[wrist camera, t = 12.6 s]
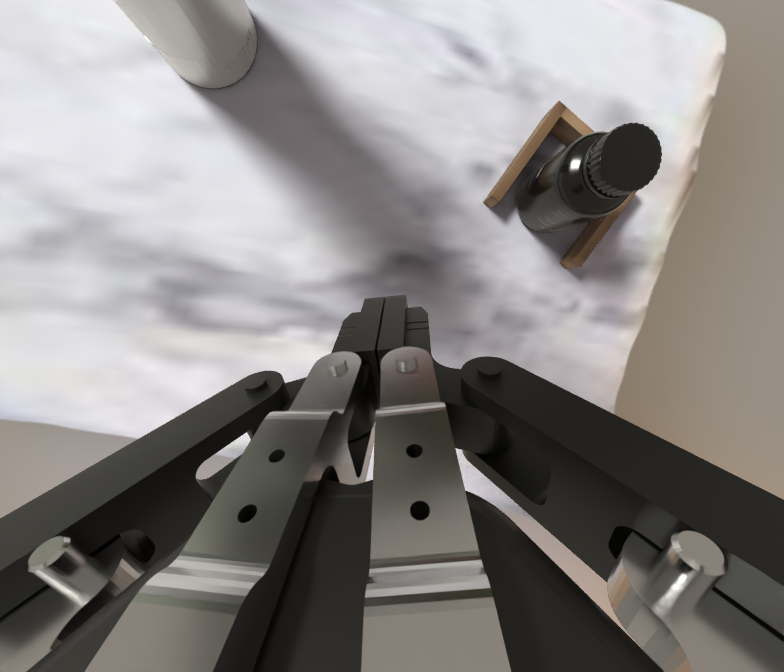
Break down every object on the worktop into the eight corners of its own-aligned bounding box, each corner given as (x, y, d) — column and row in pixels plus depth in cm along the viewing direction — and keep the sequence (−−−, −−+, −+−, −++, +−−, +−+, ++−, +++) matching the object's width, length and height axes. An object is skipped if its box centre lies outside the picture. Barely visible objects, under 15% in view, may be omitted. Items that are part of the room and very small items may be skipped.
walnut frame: (483, 202, 35) (491, 195, 32) (545, 114, 34) (559, 100, 32) (566, 268, 36) (580, 266, 34) (627, 186, 35) (646, 177, 33)
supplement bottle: (520, 164, 34) (598, 96, 23) (580, 174, 35) (687, 113, 23) (509, 230, 35) (578, 197, 23) (568, 239, 36) (665, 211, 24)
